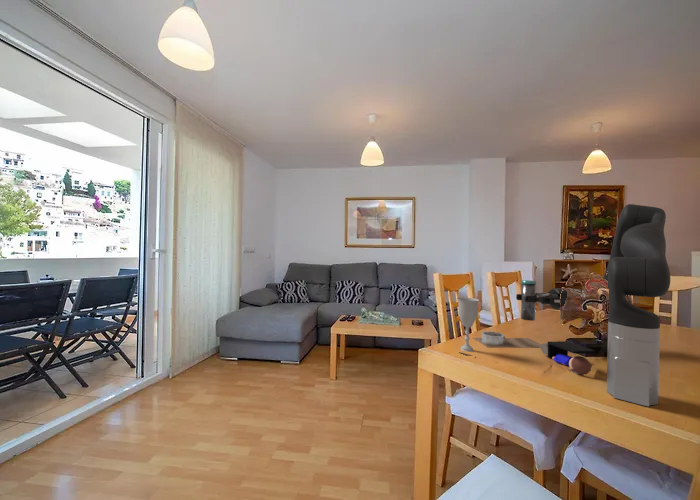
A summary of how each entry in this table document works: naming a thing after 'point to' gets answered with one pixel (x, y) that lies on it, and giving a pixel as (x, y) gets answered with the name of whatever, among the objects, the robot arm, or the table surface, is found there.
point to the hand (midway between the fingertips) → (521, 298)
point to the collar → (493, 338)
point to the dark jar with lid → (527, 307)
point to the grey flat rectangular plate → (514, 343)
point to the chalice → (467, 318)
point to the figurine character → (560, 354)
